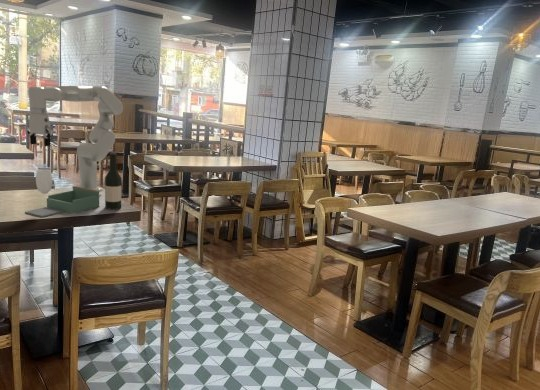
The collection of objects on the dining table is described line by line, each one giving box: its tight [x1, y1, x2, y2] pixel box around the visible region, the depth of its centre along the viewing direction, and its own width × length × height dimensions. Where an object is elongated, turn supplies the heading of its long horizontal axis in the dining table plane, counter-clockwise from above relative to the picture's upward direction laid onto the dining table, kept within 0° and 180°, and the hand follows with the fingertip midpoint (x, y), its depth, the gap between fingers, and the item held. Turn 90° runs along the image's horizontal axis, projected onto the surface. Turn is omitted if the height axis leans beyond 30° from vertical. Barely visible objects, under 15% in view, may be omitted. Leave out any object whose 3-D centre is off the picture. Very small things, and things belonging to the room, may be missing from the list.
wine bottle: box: [104, 152, 122, 211], centre depth 235 cm, size 8×8×30 cm
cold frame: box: [46, 185, 101, 214], centre depth 232 cm, size 18×18×9 cm
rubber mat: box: [24, 206, 64, 218], centre depth 219 cm, size 12×12×1 cm
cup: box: [35, 169, 53, 195], centre depth 216 cm, size 7×7×21 cm
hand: (40, 144), depth 227 cm, fingers open, 9 cm apart
